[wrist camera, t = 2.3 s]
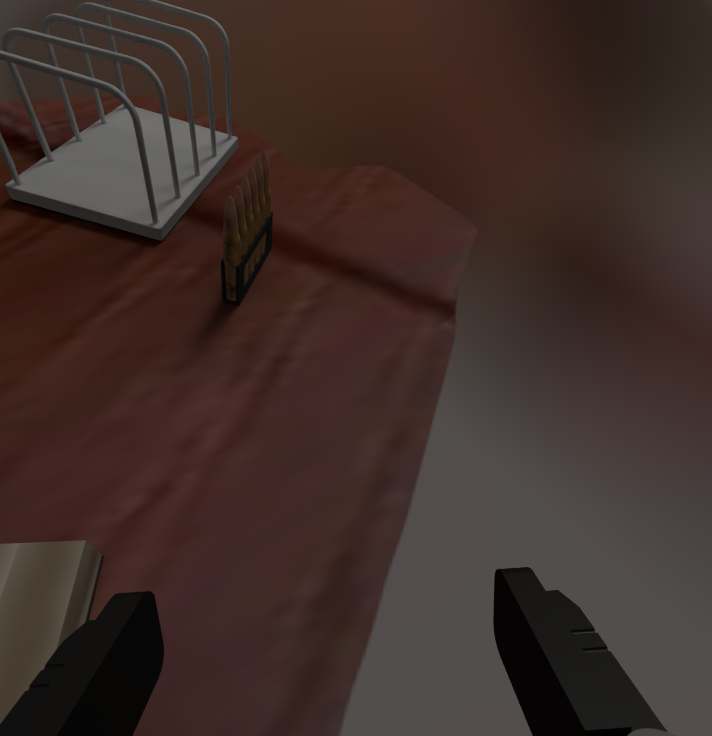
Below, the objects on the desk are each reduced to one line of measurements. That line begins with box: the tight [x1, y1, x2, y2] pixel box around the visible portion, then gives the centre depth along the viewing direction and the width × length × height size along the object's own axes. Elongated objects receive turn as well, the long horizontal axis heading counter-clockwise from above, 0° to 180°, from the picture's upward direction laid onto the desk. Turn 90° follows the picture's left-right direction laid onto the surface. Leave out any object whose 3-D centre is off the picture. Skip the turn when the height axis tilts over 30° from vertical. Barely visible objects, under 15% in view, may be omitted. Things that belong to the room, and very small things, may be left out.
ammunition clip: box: [221, 151, 273, 305], centre depth 43 cm, size 11×2×12 cm, turn 168°
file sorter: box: [0, 0, 238, 241], centre depth 50 cm, size 25×17×16 cm
